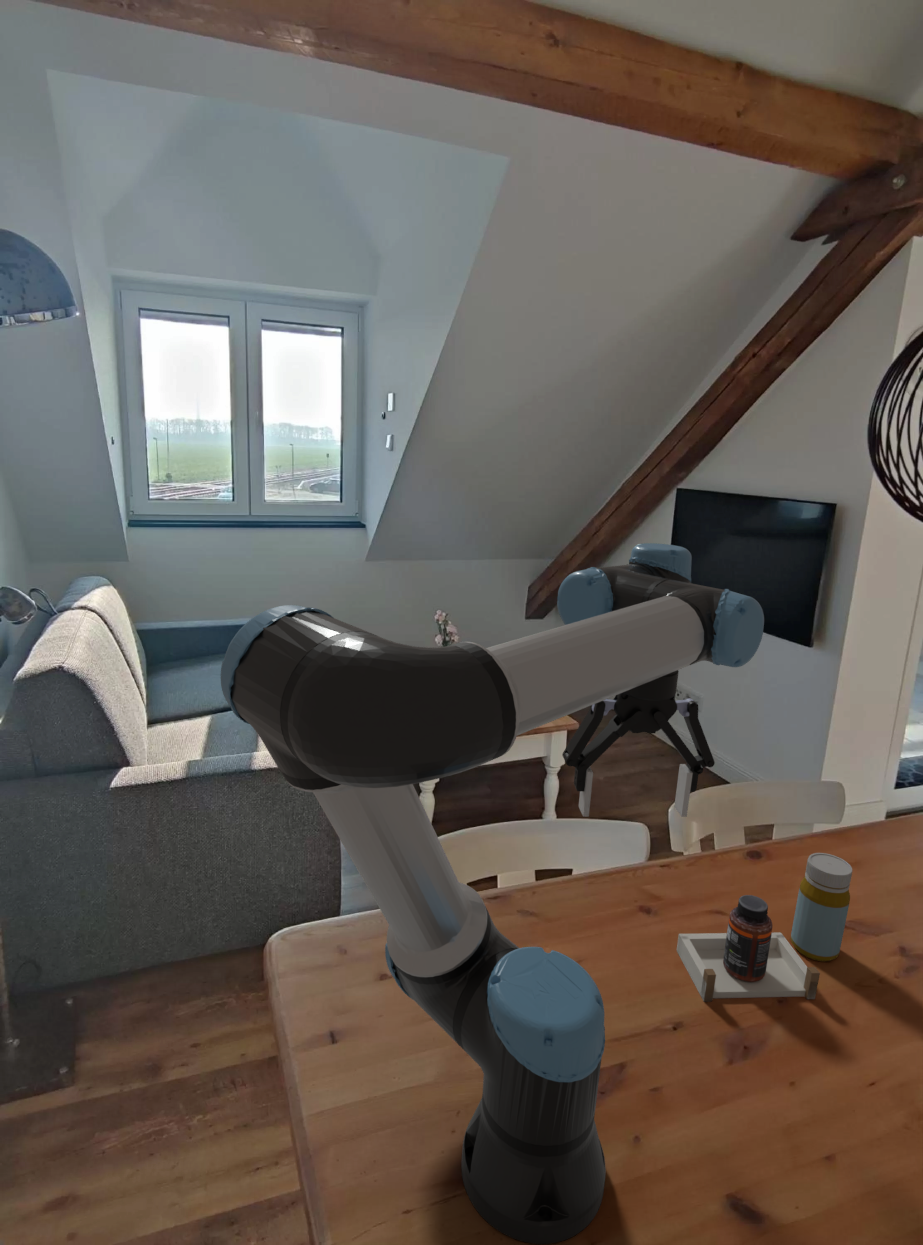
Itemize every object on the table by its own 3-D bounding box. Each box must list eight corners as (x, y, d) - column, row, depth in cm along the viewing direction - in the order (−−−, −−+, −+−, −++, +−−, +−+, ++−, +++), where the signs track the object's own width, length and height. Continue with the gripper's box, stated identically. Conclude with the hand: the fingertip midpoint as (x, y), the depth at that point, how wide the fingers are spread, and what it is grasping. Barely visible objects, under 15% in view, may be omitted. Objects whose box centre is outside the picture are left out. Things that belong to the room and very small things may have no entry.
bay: (814, 999, 105) (819, 973, 104) (703, 1001, 103) (707, 975, 102) (778, 949, 115) (782, 924, 114) (676, 950, 114) (679, 925, 113)
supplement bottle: (768, 967, 110) (780, 900, 107) (760, 990, 105) (771, 921, 102) (727, 950, 113) (737, 885, 110) (717, 972, 108) (727, 905, 105)
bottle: (780, 939, 117) (794, 855, 114) (812, 930, 120) (827, 848, 117) (815, 968, 111) (832, 880, 108) (848, 957, 114) (866, 871, 110)
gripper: (729, 657, 100) (709, 798, 105) (548, 653, 98) (537, 798, 103) (754, 674, 93) (731, 825, 98) (560, 670, 91) (547, 825, 96)
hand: (632, 812), depth 101 cm, fingers open, 13 cm apart
